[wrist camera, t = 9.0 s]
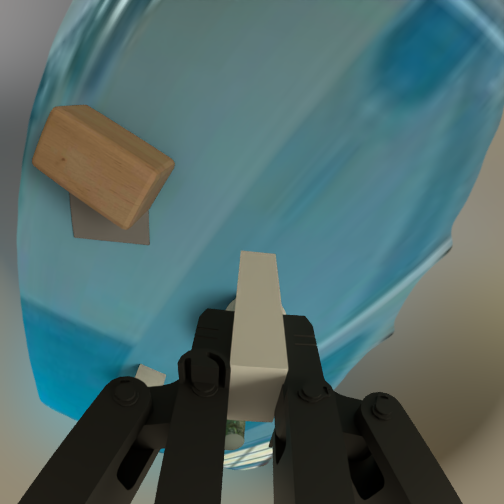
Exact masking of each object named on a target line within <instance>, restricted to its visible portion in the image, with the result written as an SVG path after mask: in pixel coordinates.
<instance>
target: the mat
mask: <svg viewBox="0 0 504 504" xmlns="http://www.w3.org/2000/svg"><path fill="white" fill-rule="evenodd" d="M69 195H70V206H71V215H72V224H73V231H74V237H75V238H85V239H94V240H104V241H114V242H124V243H134V244H143V245H150V242H149V211H147V212H146V213H145V214H144V215H143V216H142V217H141V218H140V219H139V220H138V221H137V222H136V223H135V224H134V225H133V226H132V227H131V228H129V229H128V230H125V229H122V228H120V227H119V226H117V225H116V224H114V223H113V222H111V221H110V220H108V219H107V218H106V217H104V216H103V215H101V214H100V213H98V212H97V211H95V210H94V209H93V208H91V207H90V206H88V205H87V204H85V203H84V202H83V201H81V200H80V199H78V198H77V197H76V196H74V195H73V194H71V193H70V192H69Z"/></svg>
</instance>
